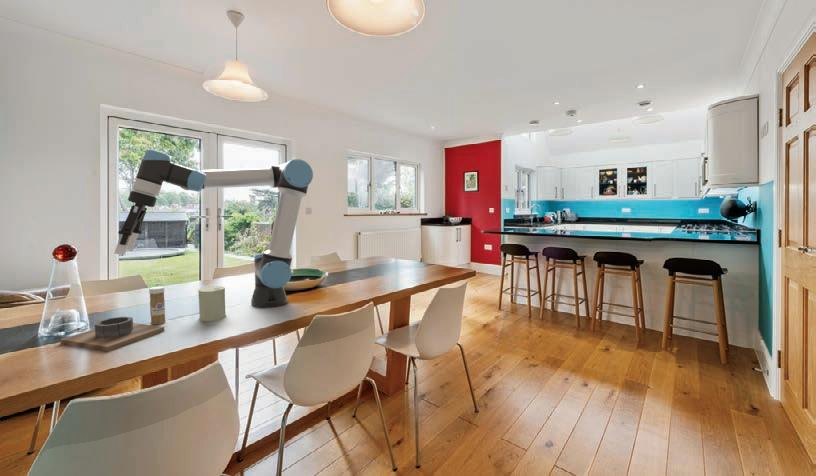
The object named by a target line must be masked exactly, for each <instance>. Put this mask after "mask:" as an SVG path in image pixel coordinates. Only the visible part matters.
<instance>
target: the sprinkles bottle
mask: <svg viewBox="0 0 816 476" xmlns="http://www.w3.org/2000/svg"><path fill="white" fill-rule="evenodd" d="M148 290H149V291H148V292H149V307H150V308H149V309H150V313H149V314H150V325H161V324H164V323H166V320H167V319H166V303H165V287H164V286H153V287H150V288H149V289H148Z"/></svg>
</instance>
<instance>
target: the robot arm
mask: <svg viewBox="0 0 816 476" xmlns="http://www.w3.org/2000/svg"><path fill="white" fill-rule="evenodd" d="M313 178H314V171H313V169H312V167H311V165H310V164H309V163H308V162H307V161H305V160H303V159H301V158H300V159H299V158H293V159H289V160H287V161H286V162H285V163H282V164H278V165H276V164H275V165H269V166H268V167H266V168H264V167H263V168H234V169H233V168H231V169H229V168H226V169H202V170H201V169H193V168H190V167H187V166H185V165H181V164H179V163H175V162H173V161H172V157H171V155H169V154H167V153H164V152H162V151H159V150H155V149H153V148H149V149H147V150H146V151H145V152H144V154H143V157H142V159H141V161H140V165H139V168H138V171H137V174H136V176H135V180H134V179H133V180H132V182H131V183H133V185H132V190H131V191H130V193H129V196H128V198H127V201H128V202H131V203H134V205H131V207H130V209H129V213H128V215H127V217H126V219H125V222H124V224H123V225H122V228H121V229H120V230H119V231H118V234H119V235H120V236H119V239H118V241H117V244H116V247H115V250H114V253H113V254H114V255H120V256H125V255H126V254H127V253H126V252H127V251H130V252H133V250H134V247H135V246H136V245H135V244H136V243H137V242H136V241H137V240H138V237H139V235H142V233H143V231H142V226H143V222H144V219H145V216H146V214H147V209H148V208H147V207H150V208H154V207H155V206H156V203H157V200H158V199H157V197H159V195H160V192H161V189H162V186H163V183H164V182H165V183H167V184H171V185H175V186H177V187H180V188H181V189H183V190H185V191H194V192H196V193H197V192H198V193H200V192H202V191H203V189H204V190H206V189H225V188H226V189H227V188H228V189H229V188H248V187H267V186H269V187H270V188H272V189H273V188H276V189H278V191H279V192H280V195H279V199H278V203H277V208H276V212H275V216H274V221H273V227H272V231H271V235H270V239H269V244H268V248H267V250H264V251H263V253H257V254H255V255H254V259H253V263H254V290H253V293H252V297H251V300H250V301H251V303H250V304H251V306H252V307H255V308H274V307H279V306H283V305H285V304H287V302H288V296H287V294H286V291H285V289H284V288H285V287H284V286H287V284H288V282H290V280H291V278H292V269H291V265H292V261H293V257H292V254H291V248H292V243H293V239H294V234H295V230H296V226H297V222H298V221H297V220H298V216H299V211H300V208H301V202H302V199H303V197H305V196H307V192H308V188H309V185H310V184H311V183H312V181H313Z"/></svg>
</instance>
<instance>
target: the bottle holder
mask: <svg viewBox="0 0 816 476" xmlns="http://www.w3.org/2000/svg"><path fill="white" fill-rule="evenodd" d="M133 320H134V318H133V317H132V316H115V317H109V318H106V319H102V320H98V321H97V322H96V323H95V324H94V328H93V329H91V330H87V331H84V332H80V333H77V334H74V335H69V336H67V337H63V338H61V339H59V344H60V345H66V346H69V347H70V346H72V347H75V348H76V347H77V348H84V349H90V350H95V351H103V352H111V351H114V350H115V349H116V350H117V349H119V348H121V347H124V346H127V345H130V344H133V343H135V342H137V341H141V340H143V339H147V338H149V337H152V336H154V335H157V334H160V333H164V332H165V326H161V325H154V324H145V323H144V324H143V323H137V322H133Z"/></svg>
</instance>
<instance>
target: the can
mask: <svg viewBox="0 0 816 476" xmlns="http://www.w3.org/2000/svg"><path fill="white" fill-rule="evenodd" d="M198 307H199V318H198V320H199V321H201V322H214V321H219V320H223V319H224V318H226V317H227V314H226V313H227V312H226V287H225V286H220V285H219V286H218V285H217V286H215V285H214V286H205V287H201V288H199V289H198Z"/></svg>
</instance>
